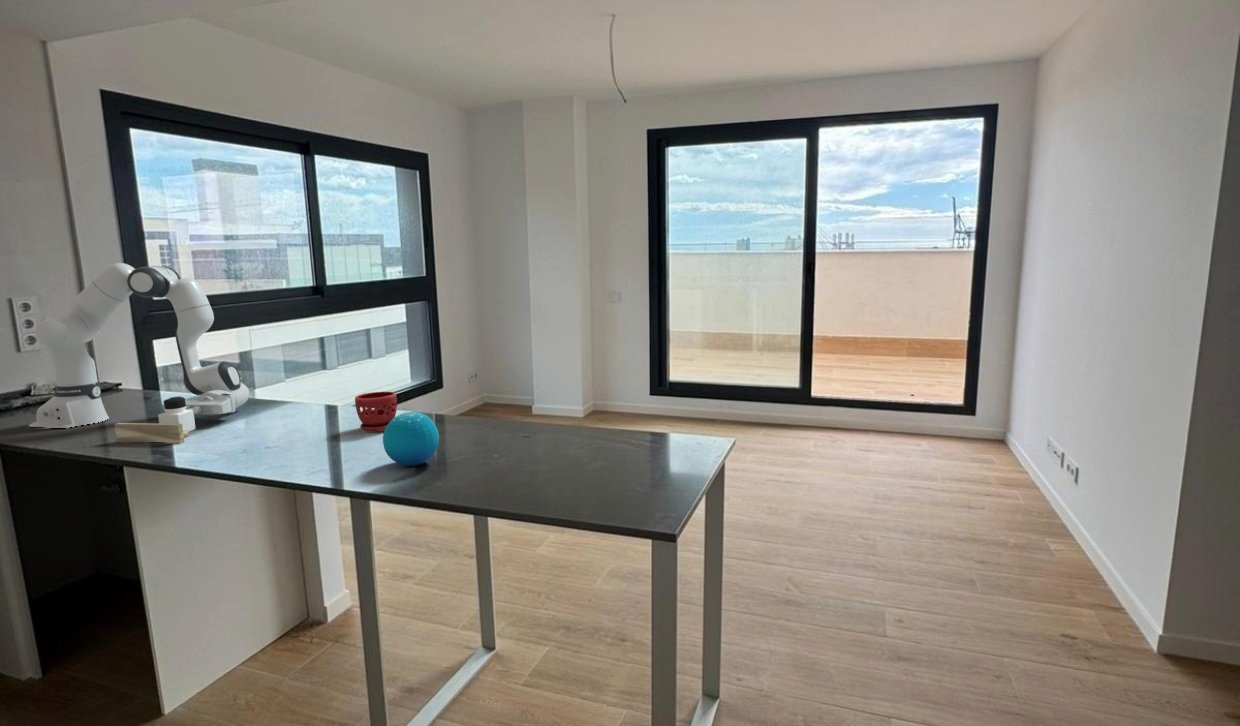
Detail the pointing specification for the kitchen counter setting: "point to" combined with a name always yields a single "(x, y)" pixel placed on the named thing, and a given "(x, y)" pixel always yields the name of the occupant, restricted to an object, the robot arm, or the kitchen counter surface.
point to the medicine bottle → (177, 413)
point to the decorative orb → (410, 438)
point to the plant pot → (376, 410)
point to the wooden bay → (150, 432)
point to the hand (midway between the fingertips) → (183, 412)
